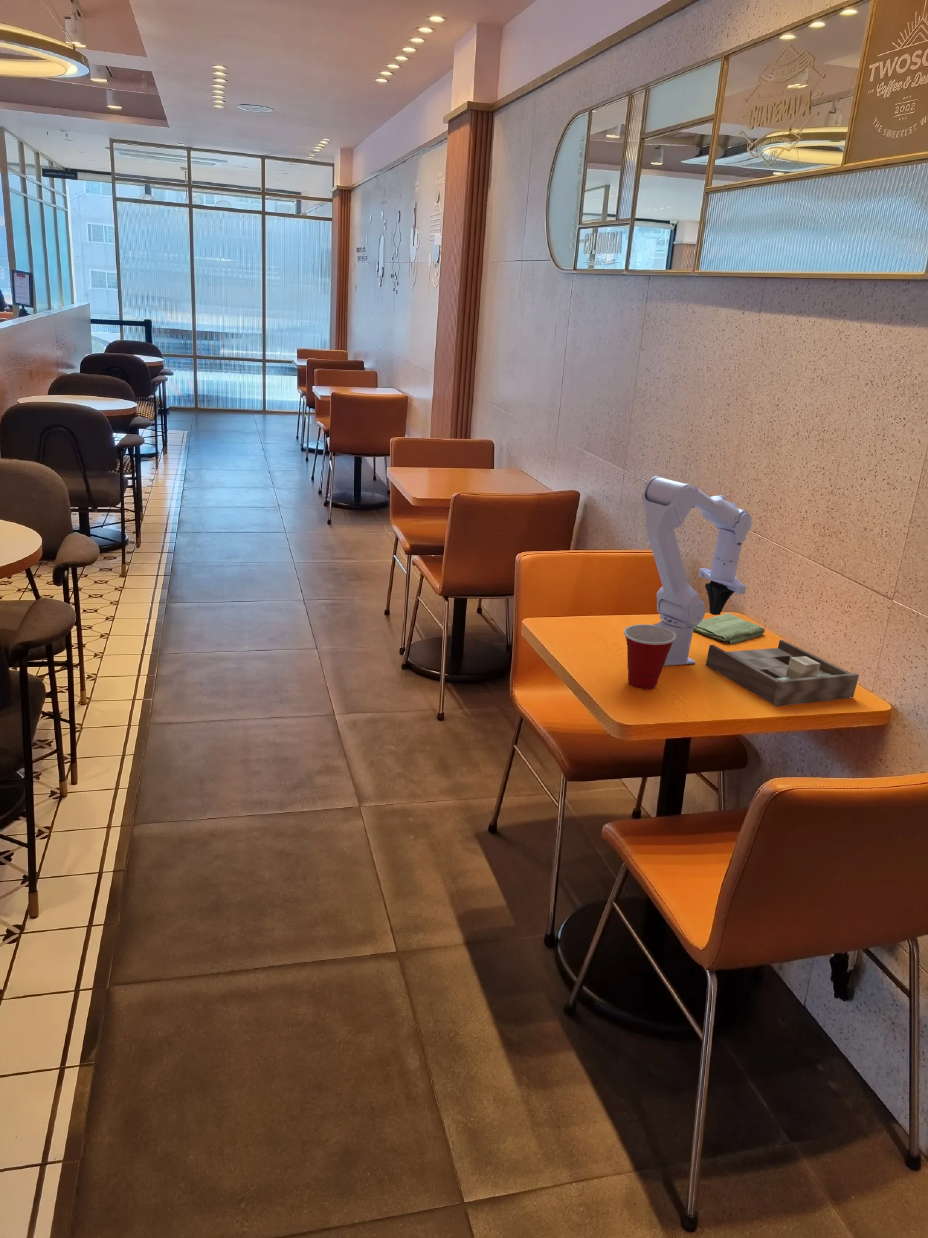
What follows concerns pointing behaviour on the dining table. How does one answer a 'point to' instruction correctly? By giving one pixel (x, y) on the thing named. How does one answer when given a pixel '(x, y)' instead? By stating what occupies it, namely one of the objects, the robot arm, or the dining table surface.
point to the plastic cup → (647, 653)
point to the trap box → (782, 675)
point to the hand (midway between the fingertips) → (714, 614)
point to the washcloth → (729, 628)
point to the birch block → (802, 668)
